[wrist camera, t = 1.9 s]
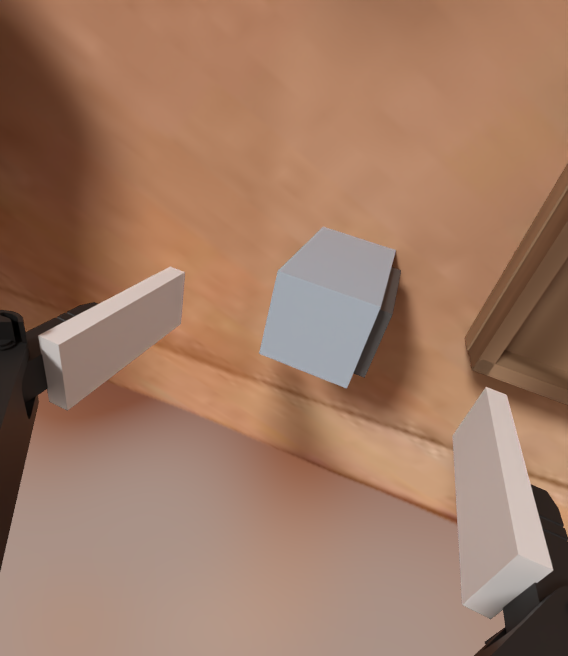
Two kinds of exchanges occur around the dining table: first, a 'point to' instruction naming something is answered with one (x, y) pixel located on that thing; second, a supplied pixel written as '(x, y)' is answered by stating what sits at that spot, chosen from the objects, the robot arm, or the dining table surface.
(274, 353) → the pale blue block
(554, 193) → the rail
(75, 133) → the dining table surface
